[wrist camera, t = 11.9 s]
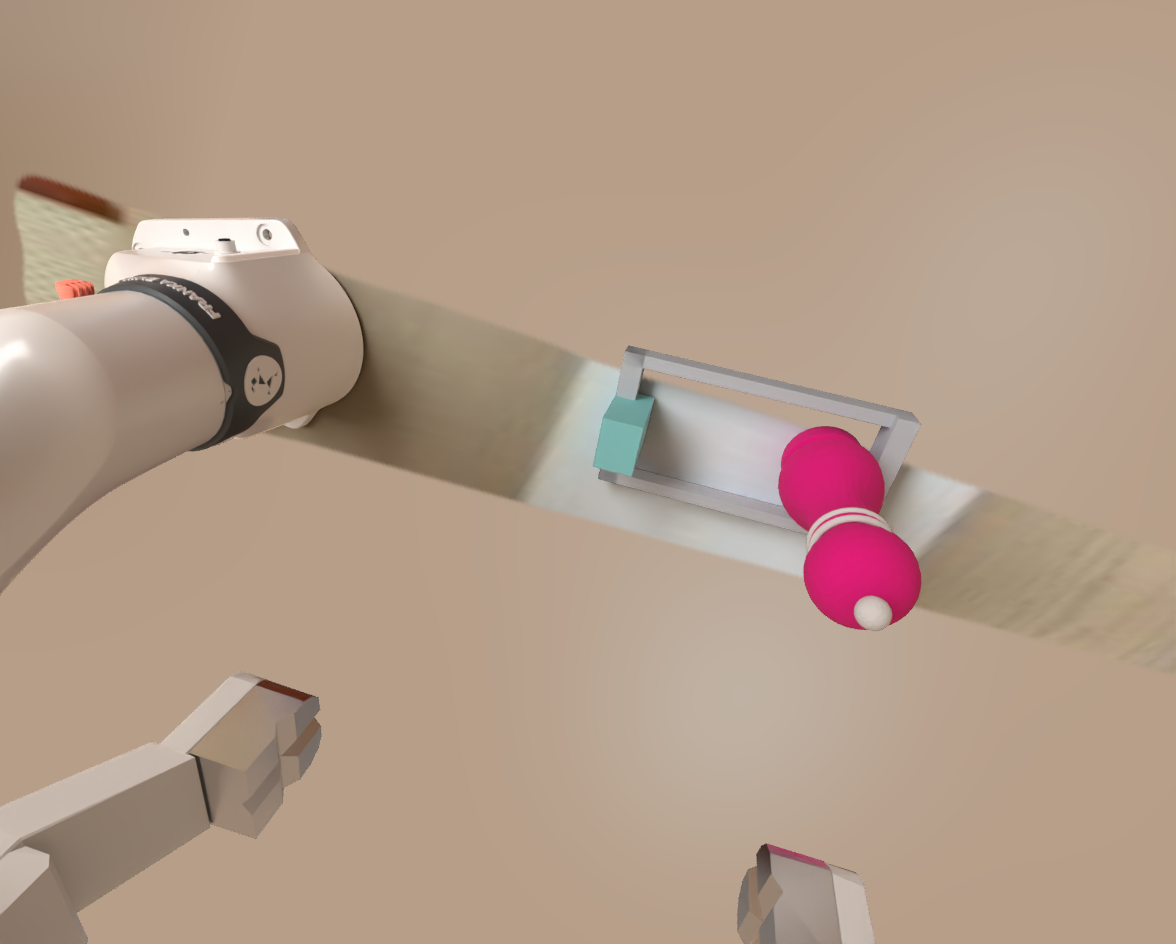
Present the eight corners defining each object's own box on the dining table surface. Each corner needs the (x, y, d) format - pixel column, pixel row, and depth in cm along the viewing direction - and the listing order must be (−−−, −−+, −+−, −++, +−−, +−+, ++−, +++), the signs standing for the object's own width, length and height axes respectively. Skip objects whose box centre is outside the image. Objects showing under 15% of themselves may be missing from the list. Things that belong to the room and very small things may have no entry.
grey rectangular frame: (602, 470, 51) (584, 507, 45) (628, 345, 46) (612, 368, 40) (853, 536, 49) (870, 585, 42) (911, 412, 43) (941, 448, 37)
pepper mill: (889, 470, 46) (988, 643, 28) (807, 516, 49) (851, 697, 31) (836, 401, 44) (906, 538, 27) (756, 453, 47) (771, 606, 30)
